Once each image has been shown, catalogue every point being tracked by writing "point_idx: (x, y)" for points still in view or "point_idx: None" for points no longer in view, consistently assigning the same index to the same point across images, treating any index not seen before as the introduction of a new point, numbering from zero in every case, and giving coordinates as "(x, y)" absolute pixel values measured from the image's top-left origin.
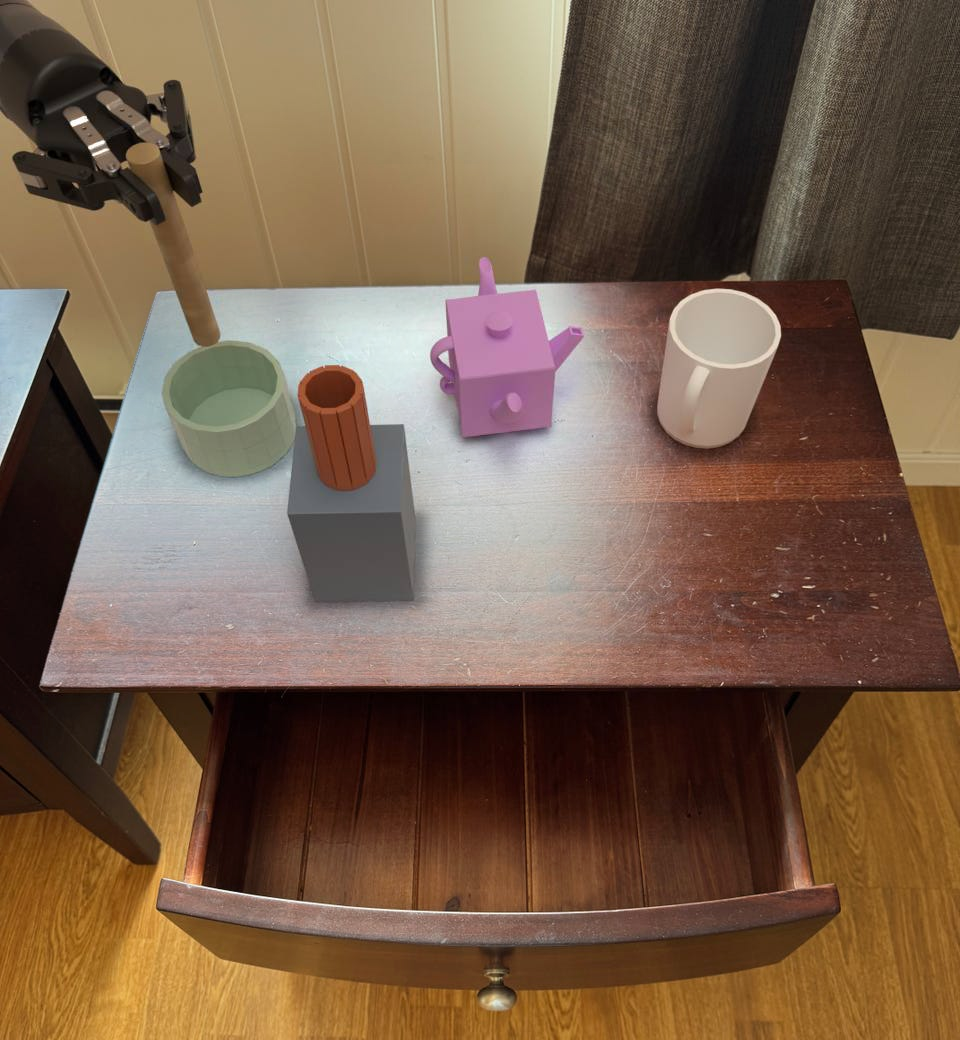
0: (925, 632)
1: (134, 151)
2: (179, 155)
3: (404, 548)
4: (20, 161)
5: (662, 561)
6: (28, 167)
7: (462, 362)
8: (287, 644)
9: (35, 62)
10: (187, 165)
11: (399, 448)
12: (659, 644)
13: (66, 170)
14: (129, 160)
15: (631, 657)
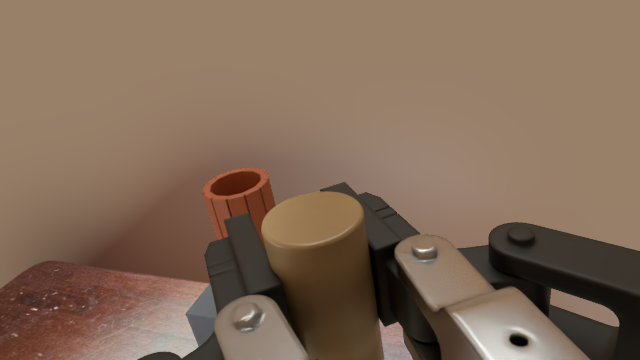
0: (19, 278)
1: (333, 220)
2: (216, 302)
3: None
4: None
5: (87, 341)
6: None
7: None
8: (385, 333)
9: None
10: (216, 268)
11: (207, 290)
12: (143, 292)
13: (585, 250)
14: (354, 199)
15: (164, 288)
